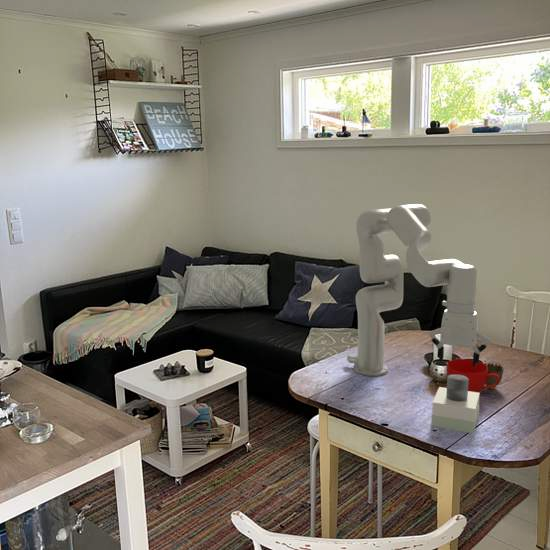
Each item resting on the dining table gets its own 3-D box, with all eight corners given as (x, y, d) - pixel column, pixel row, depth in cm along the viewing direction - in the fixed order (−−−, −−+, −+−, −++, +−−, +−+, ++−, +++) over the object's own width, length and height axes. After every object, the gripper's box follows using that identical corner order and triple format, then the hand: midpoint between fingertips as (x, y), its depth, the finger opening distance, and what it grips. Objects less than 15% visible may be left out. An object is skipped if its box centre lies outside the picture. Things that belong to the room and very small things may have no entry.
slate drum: (445, 399, 178) (446, 380, 176) (447, 391, 183) (448, 373, 182) (466, 402, 175) (467, 383, 174) (468, 394, 181) (469, 376, 179)
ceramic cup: (493, 408, 188) (495, 378, 186) (440, 397, 197) (441, 368, 195) (502, 393, 199) (504, 365, 197) (451, 383, 208) (453, 356, 206)
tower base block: (431, 427, 178) (431, 414, 177) (438, 410, 189) (439, 398, 188) (473, 434, 173) (474, 422, 172) (478, 417, 183) (479, 405, 183)
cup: (503, 394, 199) (505, 371, 197) (480, 392, 200) (481, 370, 198) (500, 385, 206) (501, 363, 204) (477, 383, 207) (479, 361, 205)
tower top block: (432, 414, 177) (432, 402, 176) (438, 398, 188) (439, 386, 187) (474, 421, 172) (475, 409, 171) (478, 405, 183) (479, 392, 182)
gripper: (427, 307, 174) (425, 362, 178) (490, 313, 166) (486, 371, 170) (433, 300, 180) (430, 354, 184) (493, 306, 173) (490, 362, 177)
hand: (457, 362), depth 177 cm, fingers open, 9 cm apart
